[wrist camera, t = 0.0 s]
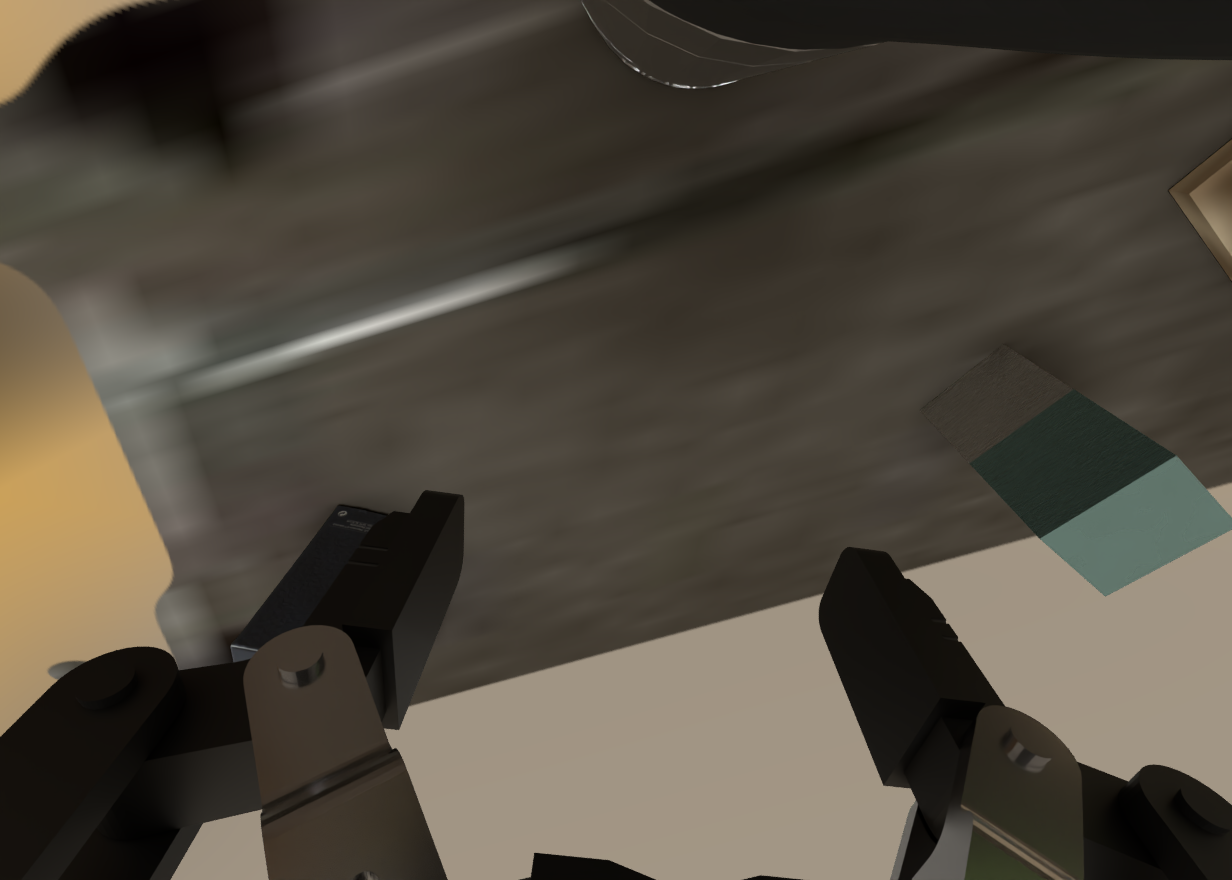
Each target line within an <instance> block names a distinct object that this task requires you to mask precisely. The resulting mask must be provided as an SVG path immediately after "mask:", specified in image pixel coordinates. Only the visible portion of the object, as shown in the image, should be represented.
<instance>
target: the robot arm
mask: <svg viewBox="0 0 1232 880" xmlns="http://www.w3.org/2000/svg"><path fill="white" fill-rule="evenodd" d="M581 1H582V3H583V5H584V7H585V9H586V11H587V13H588V15H589V17H590V19H591V21H592V23H593V24H594V26H595V27H596V29H597V30H598V32H599V33H600V35H601V36H602V38H603V39H604V41H605V42H606V44H607V45H608V47H609V48H610V49H611V50H612V51H613V52H614V53H615V54H616V55H617V56H618V57H619V58H620V59H621V60H622V61H623V62H624V63H626V64H627V65H628V66H629V67H630V68H632V69H634V70H635V71H637V72H638V73H640V74H642V75H643V76H645V77H647V78H649V79H650V80H653V81H656V82H659V83H662V84H665V85H669V86H672V87H680V88H687V89H692V88H696V89H703V88H710V87H717V86H721V85H725V84H728V83H731V82H735V81H738V80H740V79H744V78H748V77H752V76H756V75H760V74H764V73H768V72H772V71H776V70H780V69H784V68H788V67H792V66H796V65H800V64H804V63H808V62H811V61H814V60H818V59H822V58H826V57H830V56H834V55H838V54H841V53H845V52H849V51H853V50H857V49H861V48H865V47H869V46H873V45H876V44H879V43H882V42H887V41H894V42H910V43H926V44H941V45H953V46H966V47H978V48H991V49H1003V50H1015V51H1028V52H1040V53H1055V54H1070V55H1085V56H1102V57H1125V58H1148V59H1191V60H1232V0H581ZM463 551H464V497H463V495H459V494H451V493H444V492H436V491H429V490H425V491H424V492H423V493H422V494H421V496H420V498H419V499H418V501H417V503H416V504H415V506H414V508H413V509H412V511H411V512H410V513H403V512H395V511H393V512H392V513H391V514H389V515H388V516H386V517H385V518H383V519H382V520H380V521H379V522H377V523H376V524H374V525H373V526H372V527H371V528H370V530H369V531H368V533H367V534H366V535H365V537H364V538H363V540H362V541H361V543H360V544H359V548H356V550H355V551H354V553H353V554H352V556H351V557H350V559H349V561H348V564H345V566H344V567H343V569H342V570H341V572H340V573H339V574H338V576H337V577H336V579H335V580H334V582H333V583H332V585H331V586H330V587H329V589H328V590H327V592H326V593H325V595H324V596H323V598H322V599H321V600H320V602H319V603H318V605H317V606H316V608H315V609H314V611H313V612H312V613H311V615H310V616H309V618H308V619H307V621H306V622H305V624H304V625H303V626H302V627H300V628H296V629H293V630H290V631H287V632H285V633H283V634H281V635H279V636H277V637H275V638H273V639H272V640H270V641H269V642H267V643H266V644H265V645H263V646H262V647H261V648H260V649H259V650H258V651H257V652H256V653H255V654H254V655H253V657H252V658H251V659H247V660H243V661H238V662H233V663H226V664H220V665H213V666H206V667H199V668H192V669H186V670H178V667H177V664H176V662H175V659H174V658H173V657H172V655H171V654H169V653H168V652H166V651H164V650H162V649H158V648H154V647H132V648H125V649H120V650H116V651H113V652H110V653H106V654H103V655H101V656H98V657H96V658H94V659H91V660H89V661H87V662H85V663H83V664H81V665H80V666H78V667H76V668H75V669H73V670H71V671H70V672H68V673H67V674H66V675H64V676H63V677H61V678H60V679H59V680H58V681H57V682H56V683H55V684H53V685H52V686H51V687H50V688H49V689H48V690H47V691H46V692H45V693H44V694H43V695H42V696H41V697H40V698H39V699H38V700H37V701H36V702H35V703H34V704H33V705H32V706H31V707H30V708H29V709H28V710H27V711H26V712H25V713H24V714H23V715H22V716H21V717H20V718H19V719H18V720H17V721H16V722H15V723H14V724H13V725H12V726H11V727H10V728H9V729H8V730H7V731H6V732H5V733H4V734H3V735H2V736H1V737H0V880H170V879H171V878H172V876H173V874H174V873H175V871H176V869H177V867H178V866H179V864H180V862H181V860H182V859H183V857H184V855H185V853H186V852H187V850H188V848H189V847H190V845H191V843H192V841H193V840H194V838H195V836H196V834H197V833H198V831H199V829H200V827H201V826H202V824H203V823H205V822H209V821H213V820H218V819H222V818H226V817H230V816H235V815H239V814H243V813H248V812H252V811H257V810H261V809H262V813H261V829H262V837H263V843H264V851H265V858H266V865H267V871H268V878H269V880H448V879H447V877H446V874H445V872H444V869H443V866H442V863H441V860H440V858H439V855H438V852H437V850H436V847H435V845H434V842H433V839H432V836H431V834H430V831H429V828H428V826H427V823H426V820H425V817H424V814H423V812H422V809H421V806H420V804H419V801H418V798H417V796H416V793H415V791H414V787H413V785H412V782H411V779H410V777H409V774H408V771H407V769H406V766H405V763H404V761H403V759H402V757H401V755H400V753H399V751H398V750H397V749H396V748H395V749H392V748H391V746H390V744H389V742H388V739H387V736H386V734H385V731H384V728H386V729H395V730H399V729H400V726H401V724H402V721H403V719H404V716H405V714H406V711H407V709H408V706H409V704H410V701H411V699H412V696H413V694H414V691H415V689H416V686H417V684H418V681H419V679H420V676H421V674H422V671H423V669H424V666H425V664H426V661H427V659H428V656H429V654H430V651H431V649H432V646H433V644H434V641H435V639H436V636H437V634H438V631H439V629H440V626H441V624H442V621H443V619H444V616H445V614H446V611H447V609H448V606H449V604H450V601H451V599H452V596H453V594H454V591H455V589H456V586H457V584H458V581H459V577H460V573H461V568H462V563H463ZM819 624H820V628H821V632H822V634H823V637H824V639H825V642H826V644H827V646H828V649H829V651H830V654H831V656H832V659H833V661H834V664H835V666H836V669H837V671H838V674H839V676H840V678H841V681H842V684H843V686H844V689H845V691H846V693H847V696H848V698H849V701H850V703H851V706H852V708H853V711H854V713H855V716H856V718H857V721H858V723H859V726H860V728H861V731H862V733H863V735H864V738H865V740H866V743H867V746H868V748H869V750H870V753H871V756H872V758H873V760H874V763H875V765H876V768H877V770H878V773H879V775H880V778H881V780H882V783H883V785H884V786H893V787H903V788H911V790H912V792H913V794H914V796H915V798H916V801H915V803H914V804H913V805H912V807H911V808H910V811H909V813H908V817H907V820H906V824H905V827H904V831H903V835H902V839H901V842H900V846H899V849H898V853H897V857H896V861H895V864H894V867H893V871H892V875H891V878H890V880H1232V805H1231V804H1230V803H1228V802H1227V801H1226V800H1225V799H1224V798H1222V797H1221V796H1220V795H1218V794H1217V793H1216V792H1214V791H1213V790H1212V789H1210V788H1209V787H1207V786H1206V785H1204V784H1202V783H1201V782H1199V781H1198V780H1196V779H1194V778H1192V777H1190V776H1189V775H1187V774H1185V773H1182V772H1180V771H1178V770H1175V769H1172V768H1169V767H1166V766H1161V765H1147V766H1145V767H1143V768H1142V769H1141V770H1140V771H1139V772H1138V773H1137V774H1136V775H1135V776H1134V777H1133V778H1132V779H1131V780H1130V781H1129V782H1128V781H1125V780H1123V779H1120V778H1118V777H1115V776H1112V775H1110V774H1107V773H1105V772H1102V771H1099V770H1097V769H1095V768H1092V767H1089V766H1087V765H1084V764H1081V763H1079V762H1077V761H1076V759H1075V758H1074V756H1073V755H1072V753H1071V752H1070V750H1069V749H1068V748H1067V747H1066V746H1065V744H1064V743H1063V742H1062V741H1061V740H1060V739H1059V738H1058V737H1057V736H1056V735H1055V734H1054V733H1053V732H1051V731H1050V730H1049V729H1048V728H1047V727H1045V726H1044V725H1042V724H1041V723H1040V722H1038V721H1037V720H1035V719H1033V718H1032V717H1030V716H1028V715H1026V714H1024V713H1022V712H1020V711H1017V710H1015V709H1012V708H1009V707H1005V705H1004V704H1003V702H1002V701H1001V700H1000V698H999V697H998V695H997V694H996V692H995V691H994V689H993V688H992V686H991V685H990V684H989V682H988V681H987V679H986V678H985V676H984V675H983V673H982V672H981V670H980V669H979V667H978V666H977V665H976V663H975V661H974V660H973V658H972V657H971V656H970V654H969V653H968V651H967V650H966V648H965V647H964V645H963V644H962V642H958V636H957V635H956V634H955V632H954V631H953V629H952V628H951V626H950V625H949V624H946V619H945V618H944V616H943V614H942V613H941V612H940V610H939V609H938V607H937V606H936V604H935V603H934V601H933V600H932V599H931V598H930V597H929V596H928V595H927V594H926V593H924V591H922V590H921V589H920V588H919V587H918V586H917V585H916V584H914V583H913V582H912V581H911V580H910V579H905V578H904V576H903V575H902V573H901V572H900V570H899V569H898V567H897V566H896V564H895V563H894V561H893V560H892V558H891V557H890V555H889V554H888V553H886V552H883V551H876V550H869V549H861V548H853V547H847V548H846V549H844V550H843V552H842V553H841V555H840V558H839V560H838V562H837V564H836V567H835V569H834V571H833V574H832V576H831V578H830V580H829V583H828V585H827V587H826V590H825V592H824V594H823V597H822V599H821V602H820V607H819ZM520 880H655V879H653V878H650V877H648V876H646V875H643V874H641V873H638V872H636V871H634V870H631V869H629V868H626V867H624V866H622V865H619V864H617V863H614V862H612V861H610V860H601V859H592V858H581V857H572V856H562V855H551V854H541V853H534V859H533V866H532V873H531V877H529V878H525V879H520ZM744 880H801V879H790V878H781V877H771V876H756V877H752V878H748V879H744Z"/></svg>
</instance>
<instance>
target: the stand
mask: <svg viewBox="0 0 1232 880" xmlns="http://www.w3.org/2000/svg"><path fill="white" fill-rule="evenodd" d="M1169 192H1170V194H1171V195H1172V196H1173V198H1174V199H1175V201H1176V202H1177V204H1178V205H1179V206H1180V208H1181V209H1182V211H1183V212H1184V214H1185V215H1186V216H1187V218H1188V219H1189V221H1190V222H1191V224H1192V225H1193V226H1194V228H1195V229H1196V231H1197V232H1198V234H1199V235H1200V237H1201V238H1202V239H1203V241H1204V242H1205V244H1206V245H1207V247H1208V248H1209V249H1210V251H1211V252H1212V254H1213V255H1214V257H1215V258H1216V259H1217V261H1218V262H1219V264H1220V265H1221V267H1222V268H1223V269H1224V271H1225V272H1226V274H1227V275H1228V277H1229V278H1230V279H1231V281H1232V139H1231V140H1230V141H1229V142H1228V143H1227V144H1225V145H1224V146H1223V147H1222V148H1220V149H1219V150H1218V151H1217V152H1215V153H1214V154H1213V155H1212V156H1211V157H1209V158H1208V159H1207V160H1206V161H1204V162H1203V163H1202V164H1201V165H1199V166H1198V167H1197V168H1196V169H1194V170H1193V171H1192V172H1191V173H1190V174H1188V175H1187V176H1186V177H1185V178H1183V179H1182V180H1181V181H1180V182H1178V183H1177V184H1176V185H1175V186H1174V187H1172V188H1171V189H1170V190H1169Z"/></svg>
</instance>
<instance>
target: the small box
mask: <svg viewBox="0 0 1232 880" xmlns="http://www.w3.org/2000/svg"><path fill="white" fill-rule="evenodd" d="M385 517H386V515H382V514H378V513H373V512H369V511H366V510H361V509H356V508H351V507H346V506H337V507H336V509H335V510H334V511H333V513H332V514H331V515H330V517H329V518H328V519H327V521H326V522H325V523H324V525H323V526H322V527H321V529H320V530H319V531H318V533H317V534H316V535H315V537H314V538H313V539H312V541H311V542H310V543H309V545H308V546H307V547H306V549H305V550H304V551H303V553H302V554H301V555H300V557H299V558H298V559H297V560H296V562H295V563H294V564H293V566H292V567H291V568H290V570H289V571H288V572H287V574H286V575H285V576H284V577H283V579H282V580H281V581H280V583H279V584H278V585H277V587H276V588H275V589H274V590H273V592H272V593H271V594H270V596H269V597H268V598H267V600H266V601H265V602H264V604H263V605H262V606H261V608H260V609H259V610H258V611H257V612H256V614H255V615H254V617H253V618H252V619H251V621H250V622H249V623H248V625H247V626H246V627H245V628H244V630H243V631H242V632H241V634H240V635H239V636H238V637H237V638H236V639H235V641H234V642H233V643H232V644H231V651H232V656H233V661H234V662H238V661H243V660H247V659H251V658H252V657H253V655H254V654H255V653H256V652H257V651H258V650H259V649H260V648H261V647H262V646H263V645H265V644H266V643H267V642H269V641H270V640H272V639H273V638H275V637H277V636H279V635H281V634H283V633H285V632H287V631H290V630H293V629H296V628H300V627H302V626H303V625H304V624H305V622H306V621H307V619H308V618H309V616H310V615H311V613H312V612H313V611H314V609H315V608H316V606H317V605H318V603H319V602H320V600H321V599H322V598H323V596H324V595H325V593H326V592H327V590H328V589H329V587H330V586H331V585H332V583H333V582H334V580H335V579H336V577H337V576H338V574H339V573H340V572H341V570H342V569H343V567H344V566H345V564H348V561H349V559H350V557H351V556H352V554H353V553H354V551H355V550H356V548H359V544H360V543H361V541H362V540H363V538H364V537H365V535H366V534H367V533H368V531H369V530H370V528H371V527H372V526H373V525H374V524H376V523H377V522H379V521H380V520H382V519H383V518H385Z"/></svg>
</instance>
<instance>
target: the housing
mask: <svg viewBox="0 0 1232 880" xmlns="http://www.w3.org/2000/svg"><path fill="white" fill-rule="evenodd" d="M920 411H921V412H922V413H923V414H924V415H925V416H926V418H927V419H928V420H929V421H930V422H931V423H932V424H933V425H934V426H935V427H936V428H937V429H938V430H939V431H940V433H941V434H942V435H943V436H944V437H945V438H946V439H947V440H948V441H949V442H950V443H951V444H952V445H953V446H954V447H955V449H956V450H957V451H958V452H959V453H960V454H961V455H962V456H963V457H964V458H965V459H966V460H967V461H968V462H969V464H970V465H971V466H972V467H973V468H974V469H975V470H976V471H977V472H978V473H979V474H980V475H981V476H982V477H983V479H984V480H985V481H986V482H987V483H988V484H989V485H990V486H991V487H992V488H993V489H994V490H995V491H996V492H997V494H998V495H999V496H1000V497H1001V498H1002V499H1003V500H1004V501H1005V502H1006V503H1007V504H1008V505H1009V506H1010V507H1011V509H1012V510H1013V511H1014V512H1015V513H1016V514H1017V515H1018V516H1019V517H1020V518H1021V519H1022V520H1023V521H1024V522H1025V524H1026V525H1027V526H1028V527H1029V528H1030V529H1031V530H1032V531H1033V532H1034V533H1035V534H1036V535H1037V536H1038V537H1039V538H1040V539H1041V540H1042V541H1043V542H1044V543H1045V544H1046V545H1048V546H1049V547H1050V548H1051V549H1052V550H1053V551H1054V552H1055V553H1057V554H1058V555H1059V556H1060V557H1061V558H1062V559H1063V560H1064V561H1066V562H1067V563H1068V564H1069V565H1070V566H1071V567H1072V568H1074V569H1075V570H1076V571H1077V572H1078V573H1079V574H1080V575H1082V576H1083V577H1084V578H1085V579H1086V580H1087V581H1088V582H1089V583H1091V584H1092V585H1093V586H1094V587H1095V588H1096V589H1097V590H1098V591H1100V592H1101V593H1102V594H1103V595H1104V596H1107V595H1109V594H1111V593H1113V592H1115V591H1117V590H1119V589H1120V588H1122V587H1124V586H1126V585H1128V584H1130V583H1132V582H1134V581H1136V580H1138V579H1139V578H1141V577H1143V576H1145V575H1147V574H1149V573H1151V572H1152V571H1154V570H1156V569H1158V568H1160V567H1162V566H1164V565H1166V564H1168V563H1169V562H1171V561H1173V560H1175V559H1177V558H1179V557H1181V556H1183V555H1184V554H1187V553H1188V552H1190V551H1192V550H1194V549H1196V548H1198V547H1200V546H1202V545H1204V544H1205V543H1207V542H1209V541H1211V540H1213V539H1215V538H1217V537H1219V536H1220V535H1222V534H1224V533H1226V532H1228V531H1230V530H1232V518H1231V516H1230V515H1229V514H1228V513H1227V512H1226V511H1225V510H1224V509H1223V508H1222V506H1221V505H1220V504H1219V503H1218V502H1217V501H1216V500H1215V498H1214V497H1213V496H1212V495H1211V494H1210V493H1209V492H1208V491H1207V489H1206V488H1205V487H1204V486H1203V485H1202V484H1201V483H1200V482H1199V480H1198V479H1197V478H1196V477H1195V476H1194V475H1193V474H1192V473H1191V471H1190V470H1189V469H1188V468H1187V467H1186V466H1185V465H1184V464H1183V462H1182V461H1181V460H1180V459H1179V458H1178V457H1177V456H1176V455H1175V454H1173V453H1172V452H1170V451H1168V450H1167V449H1165V448H1164V447H1162V446H1161V445H1159V444H1158V443H1156V442H1155V441H1153V440H1151V439H1150V438H1148V437H1147V436H1145V435H1144V434H1142V433H1141V432H1139V431H1137V430H1136V429H1134V428H1133V427H1131V426H1130V425H1128V424H1127V423H1125V422H1124V421H1122V420H1120V419H1119V418H1117V417H1116V416H1114V415H1113V414H1111V413H1110V412H1108V411H1107V410H1105V409H1103V408H1102V407H1100V406H1099V405H1097V404H1096V403H1094V402H1093V401H1091V400H1090V399H1088V398H1086V397H1085V396H1083V395H1082V394H1080V393H1079V392H1077V391H1076V390H1074V389H1073V388H1071V387H1069V386H1068V385H1066V384H1065V383H1063V382H1062V381H1060V380H1059V379H1057V378H1055V377H1054V376H1052V375H1051V374H1049V373H1048V372H1046V371H1045V370H1043V369H1042V368H1040V367H1038V366H1037V365H1035V364H1034V363H1032V362H1031V361H1029V360H1028V359H1026V358H1025V357H1023V356H1021V355H1020V354H1018V353H1017V352H1015V351H1014V350H1012V349H1011V348H1009V347H1008V346H1006V345H1004V344H1003V345H1002V346H1000V347H999V348H998V349H997V350H995V351H994V352H993V353H992V354H990V355H989V356H988V357H987V358H985V359H984V360H983V361H982V362H980V363H979V364H978V365H976V366H975V367H974V368H973V369H971V370H970V371H969V372H968V373H966V374H965V375H964V376H963V377H961V378H960V379H959V380H958V381H956V382H955V383H954V384H953V385H951V386H950V387H949V388H948V389H946V390H945V391H944V392H942V393H941V394H940V395H939V396H937V397H936V398H935V399H934V400H932V401H931V402H930V403H929V404H927V405H926V406H925V407H924V408H922V409H921V410H920Z"/></svg>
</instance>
